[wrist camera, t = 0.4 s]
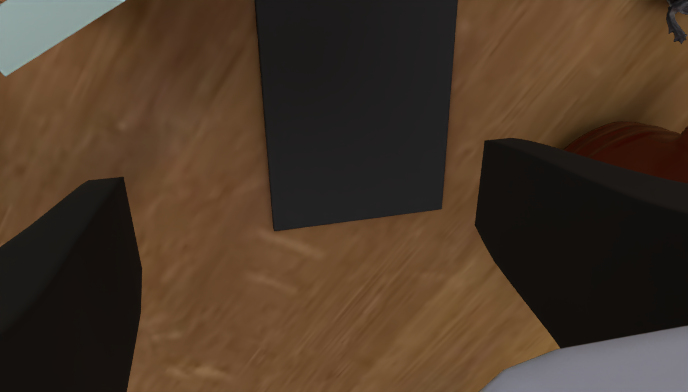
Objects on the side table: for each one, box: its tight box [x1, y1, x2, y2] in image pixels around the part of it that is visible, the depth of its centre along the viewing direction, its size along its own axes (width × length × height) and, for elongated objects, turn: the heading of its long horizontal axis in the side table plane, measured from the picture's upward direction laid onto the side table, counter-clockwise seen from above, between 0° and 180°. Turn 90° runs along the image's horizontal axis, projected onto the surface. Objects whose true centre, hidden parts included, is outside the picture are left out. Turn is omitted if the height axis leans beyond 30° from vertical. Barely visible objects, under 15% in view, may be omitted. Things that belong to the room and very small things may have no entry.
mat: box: [255, 0, 458, 231], centre depth 22 cm, size 9×7×1 cm
